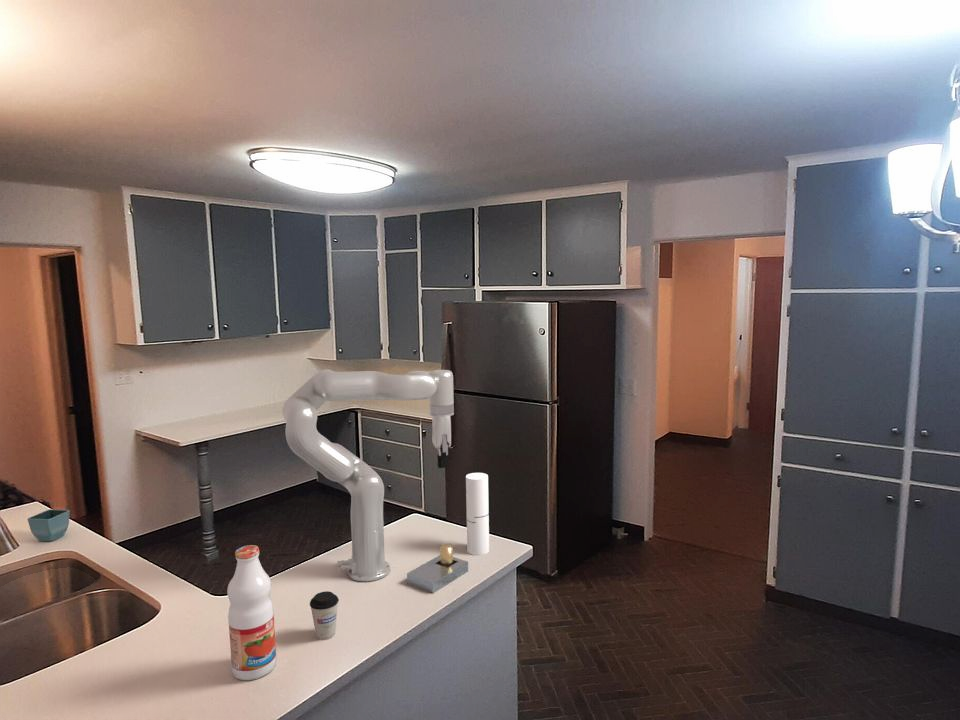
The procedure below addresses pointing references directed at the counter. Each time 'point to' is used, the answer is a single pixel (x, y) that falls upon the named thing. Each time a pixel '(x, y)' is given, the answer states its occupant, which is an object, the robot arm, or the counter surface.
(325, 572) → the counter surface
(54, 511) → the flower pot
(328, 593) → the coffee cup
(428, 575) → the jig plate
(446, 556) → the tan cylindrical peg
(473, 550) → the cylindrical container
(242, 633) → the fruit juice
